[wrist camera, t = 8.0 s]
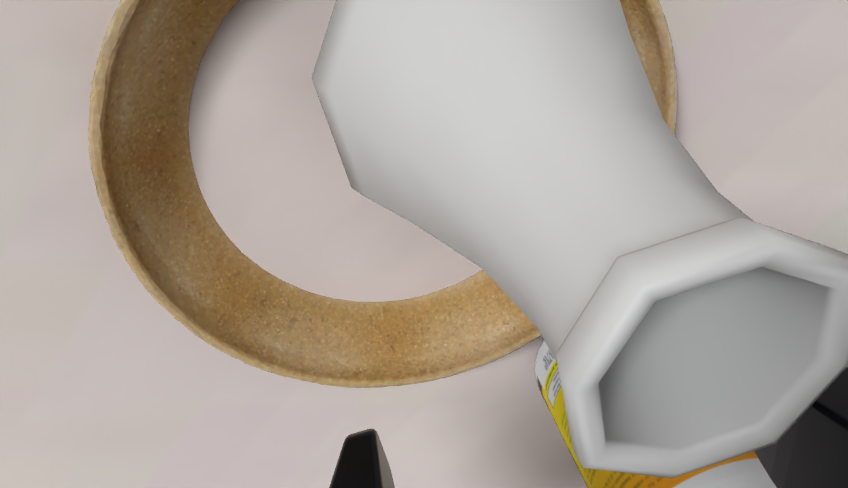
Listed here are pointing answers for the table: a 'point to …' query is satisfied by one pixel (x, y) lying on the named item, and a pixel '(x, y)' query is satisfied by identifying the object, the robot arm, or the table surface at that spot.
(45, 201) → the table surface
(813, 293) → the flask
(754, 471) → the supplement bottle
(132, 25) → the plant saucer
